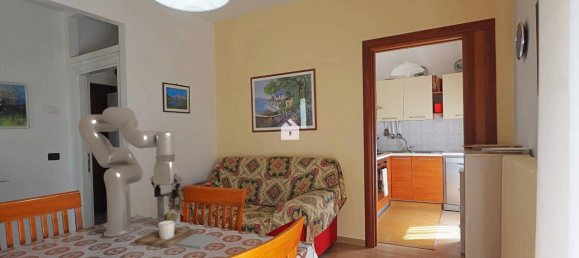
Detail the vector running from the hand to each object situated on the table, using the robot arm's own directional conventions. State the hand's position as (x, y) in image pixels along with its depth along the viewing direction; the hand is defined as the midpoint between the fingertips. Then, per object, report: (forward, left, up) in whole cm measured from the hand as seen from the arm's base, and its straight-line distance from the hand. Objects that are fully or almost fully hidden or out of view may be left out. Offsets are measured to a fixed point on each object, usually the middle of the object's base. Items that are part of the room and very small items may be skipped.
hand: (166, 197), depth 129 cm
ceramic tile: (+16, 0, -18) cm, 24 cm away
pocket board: (0, 0, -18) cm, 18 cm away
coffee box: (-12, +15, -18) cm, 27 cm away
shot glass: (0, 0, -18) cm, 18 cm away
